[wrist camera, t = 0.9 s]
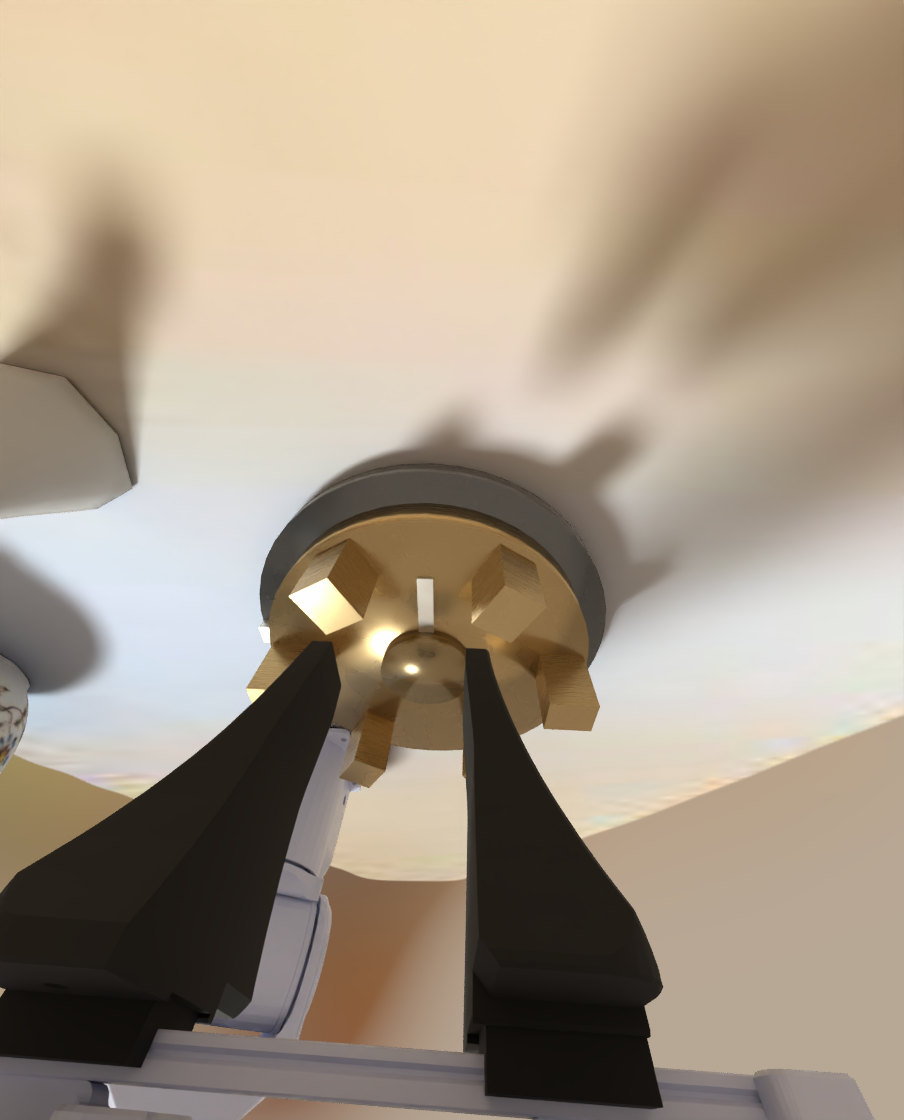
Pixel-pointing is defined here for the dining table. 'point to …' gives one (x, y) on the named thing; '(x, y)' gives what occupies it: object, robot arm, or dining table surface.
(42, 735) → the dining table surface
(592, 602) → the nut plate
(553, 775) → the dining table surface
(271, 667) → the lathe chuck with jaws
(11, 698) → the teacup
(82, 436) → the flask
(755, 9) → the dining table surface
